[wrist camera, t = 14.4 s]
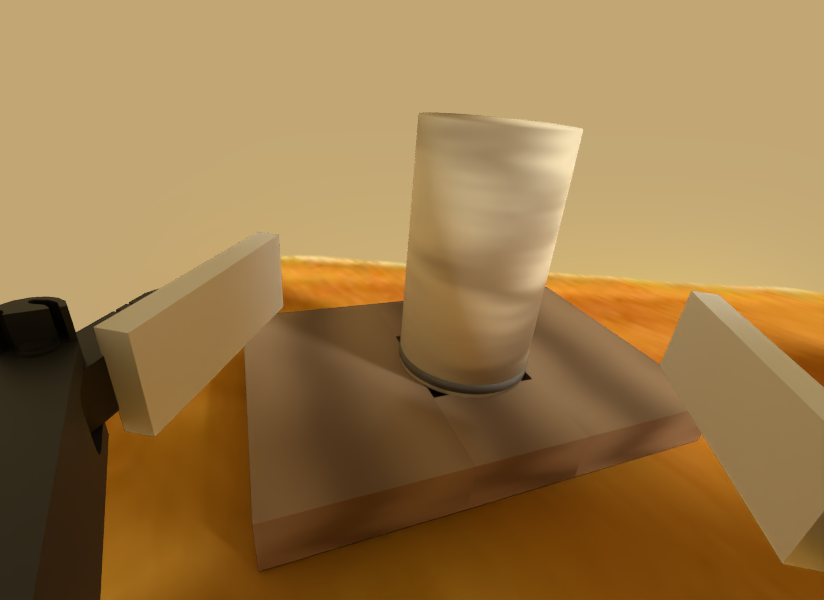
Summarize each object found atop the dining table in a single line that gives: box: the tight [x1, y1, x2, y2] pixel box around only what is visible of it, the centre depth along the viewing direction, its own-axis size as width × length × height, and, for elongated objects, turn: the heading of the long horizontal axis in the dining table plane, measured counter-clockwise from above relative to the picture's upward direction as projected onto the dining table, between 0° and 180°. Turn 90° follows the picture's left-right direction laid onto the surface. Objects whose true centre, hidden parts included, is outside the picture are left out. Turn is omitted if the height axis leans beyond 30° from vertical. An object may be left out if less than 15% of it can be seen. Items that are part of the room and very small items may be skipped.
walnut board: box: [244, 287, 701, 571], centre depth 24 cm, size 22×14×2 cm, turn 111°
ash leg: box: [399, 113, 583, 398], centre depth 21 cm, size 7×7×14 cm
